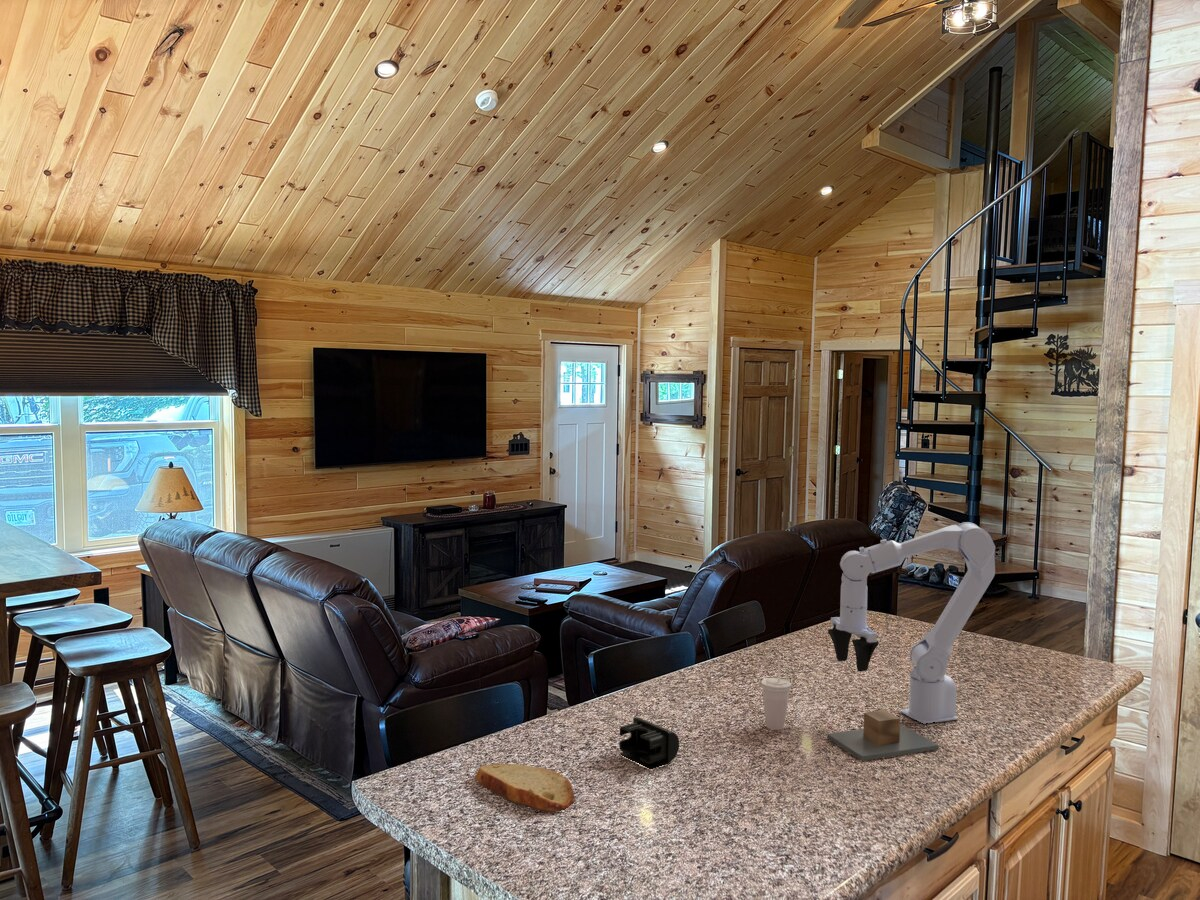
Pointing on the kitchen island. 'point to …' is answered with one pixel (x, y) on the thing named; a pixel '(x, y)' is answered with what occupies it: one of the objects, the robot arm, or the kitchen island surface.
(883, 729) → the cube
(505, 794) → the slice of bread
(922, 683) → the robot arm
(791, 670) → the kitchen island surface
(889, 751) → the board
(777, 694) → the smoothie
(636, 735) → the end cap
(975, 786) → the kitchen island surface
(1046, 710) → the kitchen island surface
